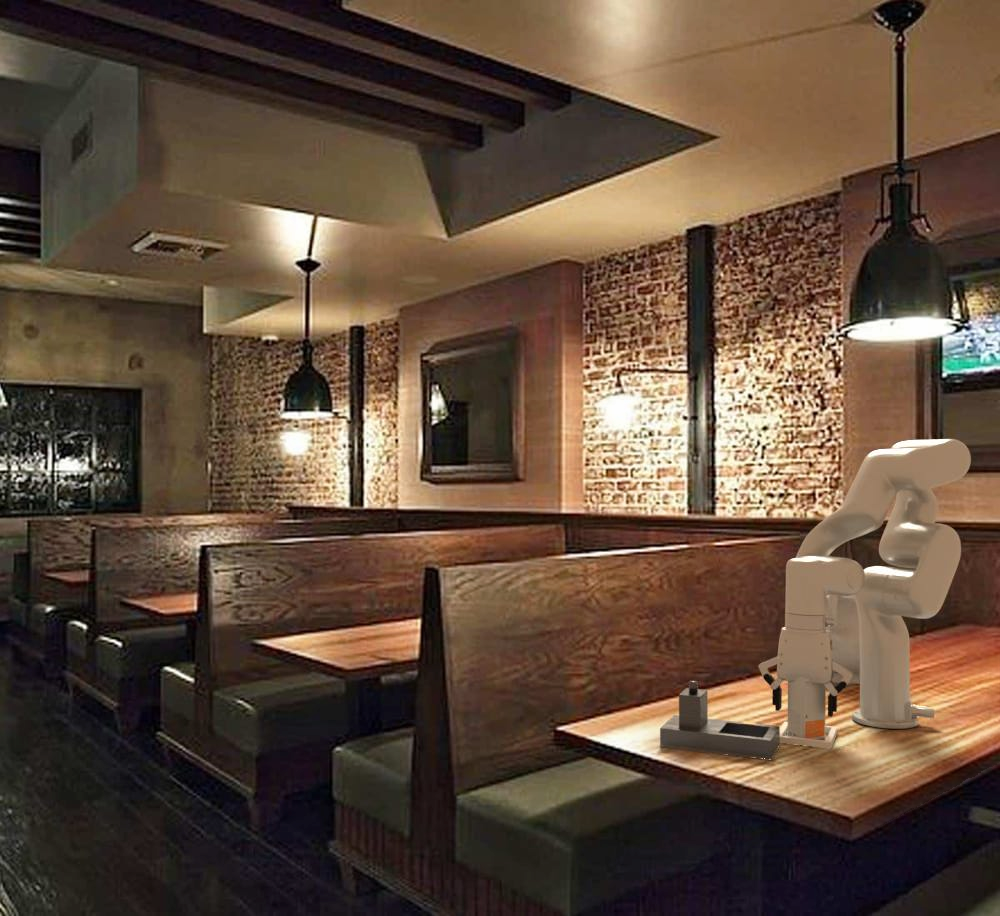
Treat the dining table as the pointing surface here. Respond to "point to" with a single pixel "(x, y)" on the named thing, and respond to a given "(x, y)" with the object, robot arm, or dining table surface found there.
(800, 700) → the skincare box
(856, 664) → the ceramic pitcher
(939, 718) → the dining table surface
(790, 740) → the tray frame
